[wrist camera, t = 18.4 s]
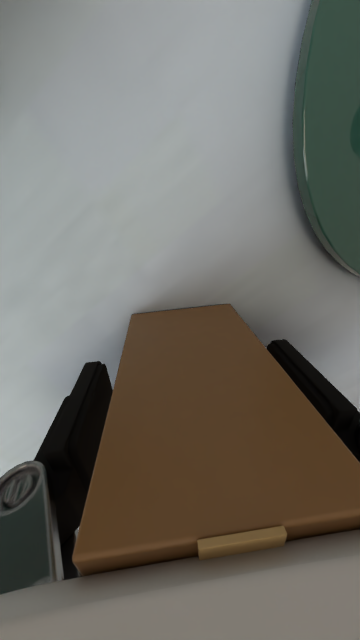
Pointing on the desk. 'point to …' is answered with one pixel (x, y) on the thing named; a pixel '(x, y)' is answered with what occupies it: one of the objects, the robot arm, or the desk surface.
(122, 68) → the desk surface
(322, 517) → the package
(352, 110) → the pot lid
